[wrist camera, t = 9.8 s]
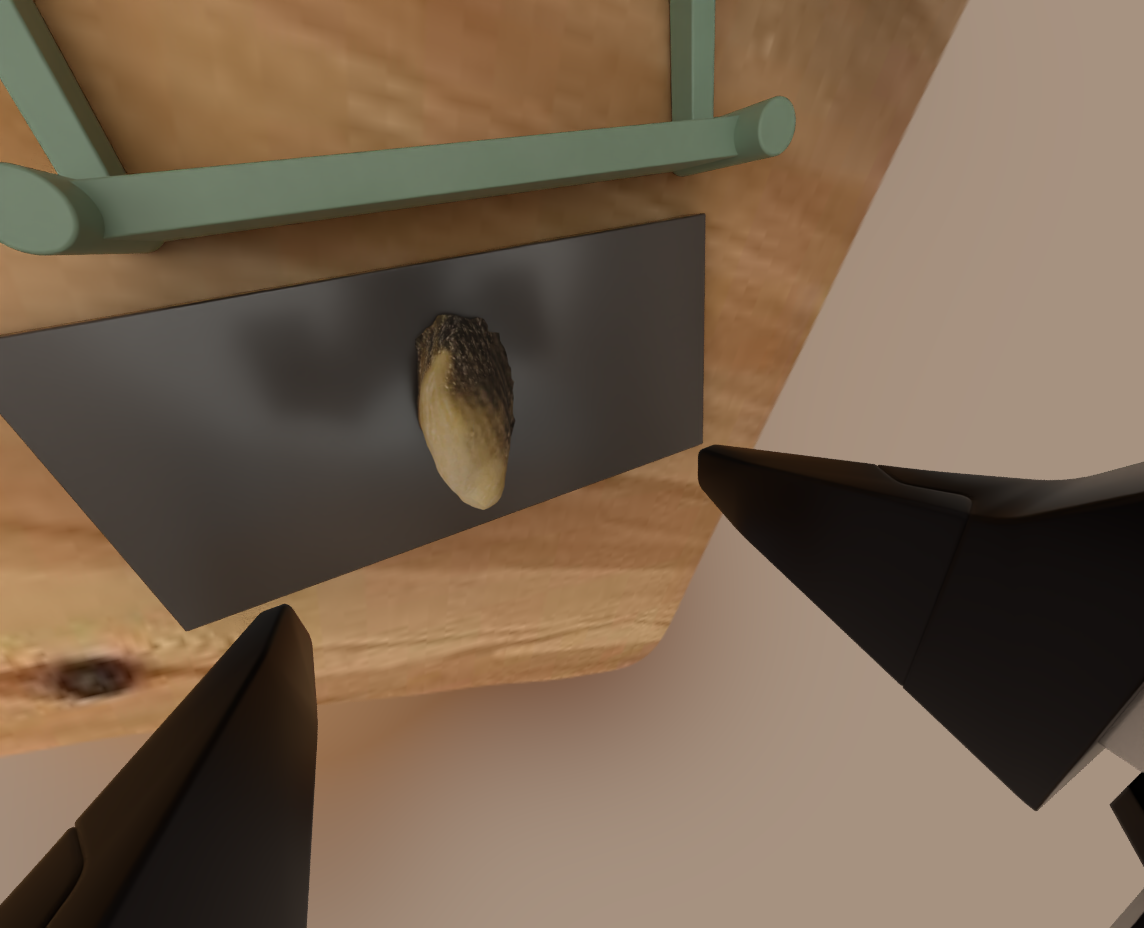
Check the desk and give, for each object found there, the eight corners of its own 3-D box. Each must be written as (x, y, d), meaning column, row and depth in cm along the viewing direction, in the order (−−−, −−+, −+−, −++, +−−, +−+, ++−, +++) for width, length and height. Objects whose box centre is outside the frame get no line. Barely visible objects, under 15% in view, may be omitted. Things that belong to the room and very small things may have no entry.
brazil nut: (488, 506, 18) (517, 529, 15) (361, 473, 15) (371, 494, 12) (541, 357, 18) (580, 355, 15) (423, 299, 15) (445, 284, 13)
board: (693, 214, 17) (706, 212, 17) (693, 438, 22) (703, 443, 22) (-35, 341, 11) (-60, 346, 10) (192, 616, 16) (185, 632, 15)
